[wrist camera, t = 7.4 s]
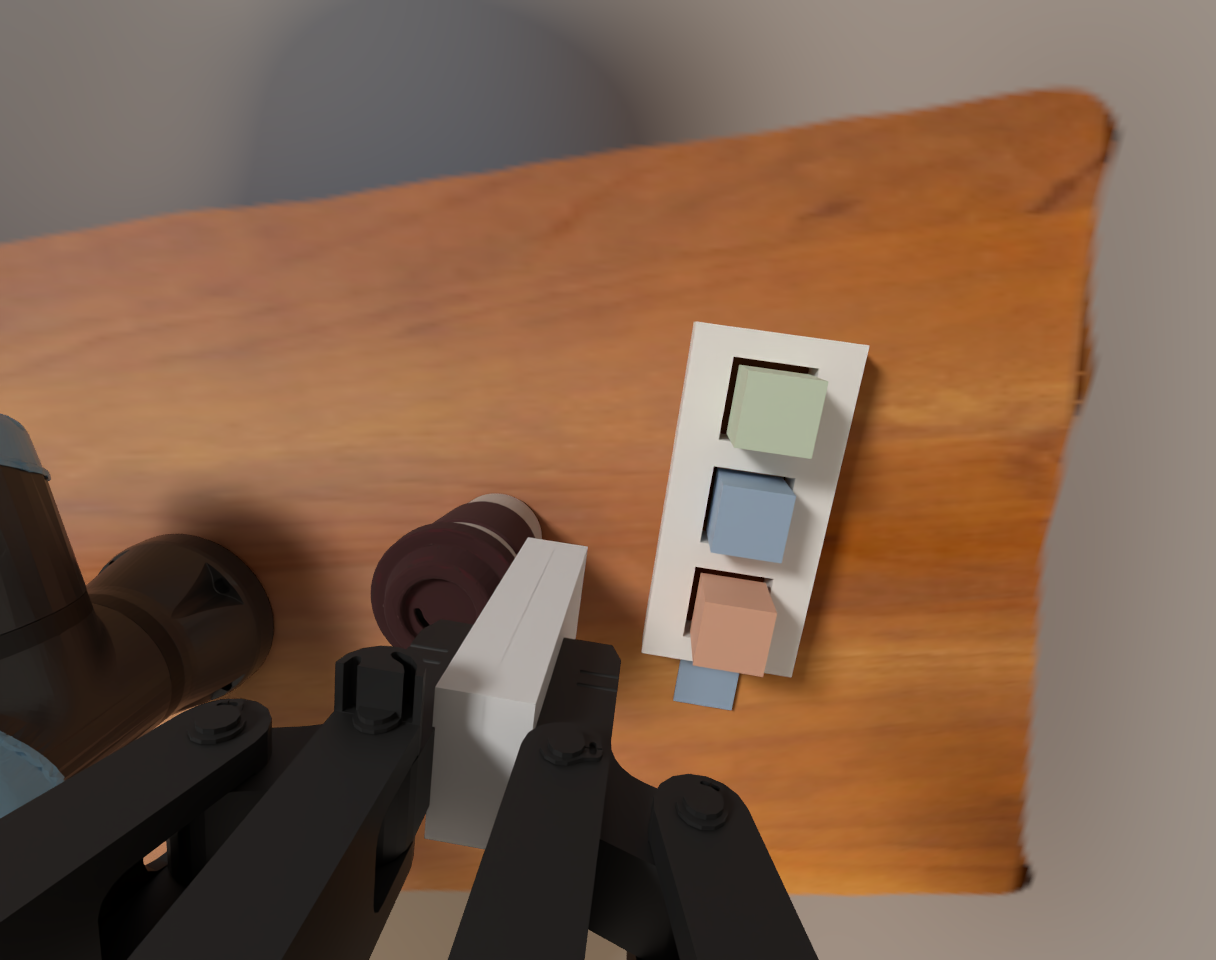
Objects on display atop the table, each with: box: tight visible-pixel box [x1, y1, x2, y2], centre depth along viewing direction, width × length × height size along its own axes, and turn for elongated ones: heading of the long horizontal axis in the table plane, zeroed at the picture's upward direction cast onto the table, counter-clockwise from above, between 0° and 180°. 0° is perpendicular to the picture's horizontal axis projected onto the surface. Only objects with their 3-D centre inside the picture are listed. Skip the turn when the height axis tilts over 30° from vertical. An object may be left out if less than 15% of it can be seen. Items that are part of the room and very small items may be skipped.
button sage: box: [726, 365, 829, 459], centre depth 43 cm, size 5×5×5 cm
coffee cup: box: [371, 494, 542, 649], centre depth 45 cm, size 10×10×15 cm
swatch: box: [673, 659, 739, 710], centre depth 54 cm, size 5×5×1 cm
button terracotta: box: [690, 573, 777, 677], centre depth 47 cm, size 5×5×5 cm
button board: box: [642, 322, 869, 677], centre depth 49 cm, size 12×26×3 cm, turn 172°
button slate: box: [706, 468, 796, 563], centre depth 46 cm, size 5×5×5 cm
